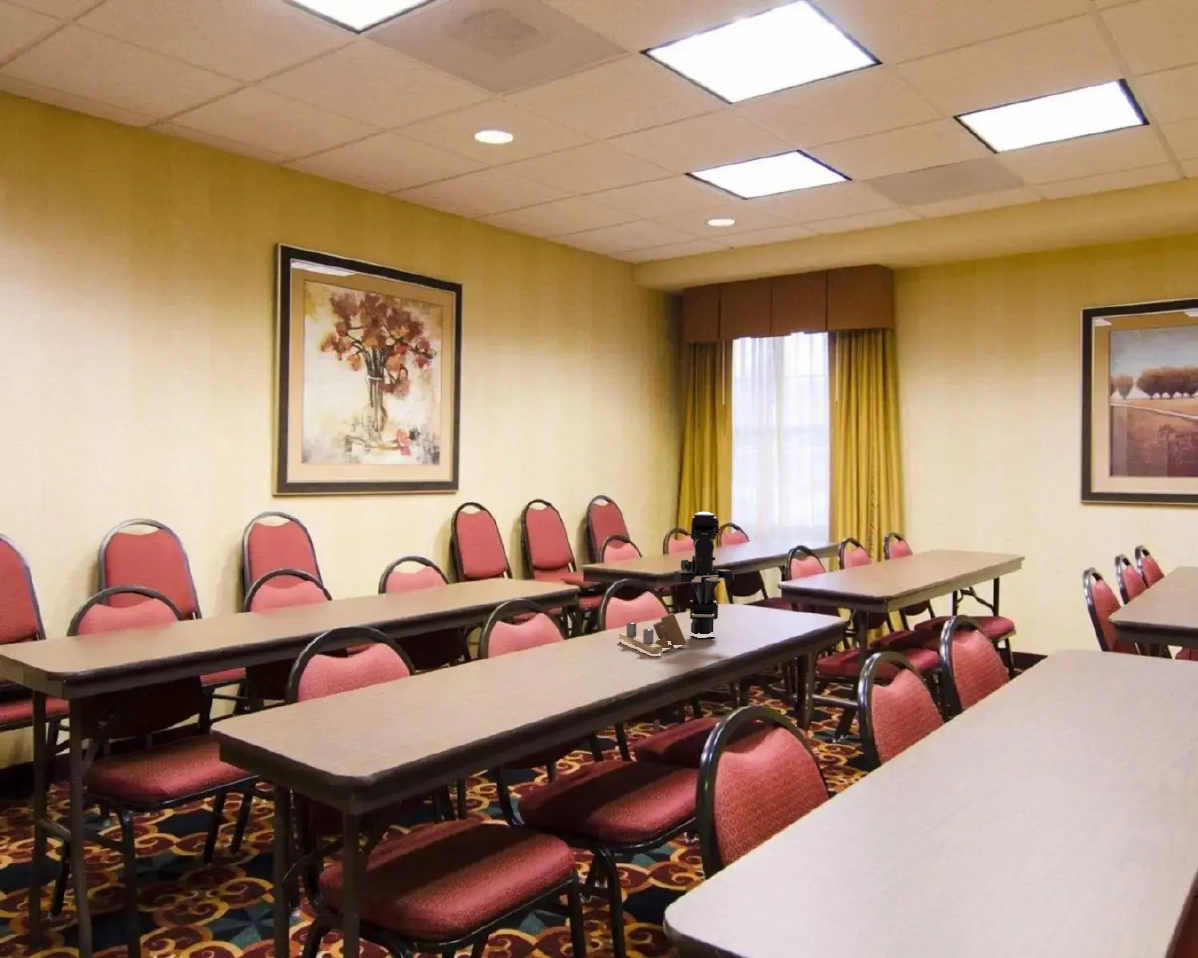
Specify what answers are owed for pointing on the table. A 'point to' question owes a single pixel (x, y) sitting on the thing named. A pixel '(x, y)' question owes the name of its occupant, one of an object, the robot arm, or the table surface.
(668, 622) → the wooden block set
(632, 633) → the steel bench dogs
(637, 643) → the maple stop rail
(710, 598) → the robot arm
